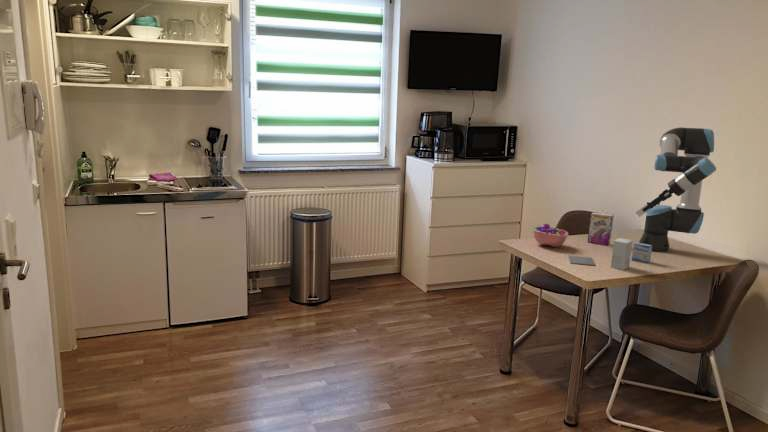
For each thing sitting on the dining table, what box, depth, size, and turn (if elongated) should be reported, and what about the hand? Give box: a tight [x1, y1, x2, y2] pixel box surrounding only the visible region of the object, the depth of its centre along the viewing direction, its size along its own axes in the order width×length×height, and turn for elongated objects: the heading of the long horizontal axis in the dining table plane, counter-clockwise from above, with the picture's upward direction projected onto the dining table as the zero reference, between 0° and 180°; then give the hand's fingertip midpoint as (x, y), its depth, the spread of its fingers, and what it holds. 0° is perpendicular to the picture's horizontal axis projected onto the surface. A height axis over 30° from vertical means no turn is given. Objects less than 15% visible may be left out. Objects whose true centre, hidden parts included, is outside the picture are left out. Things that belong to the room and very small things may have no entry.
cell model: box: [532, 223, 569, 248], centre depth 302 cm, size 17×20×11 cm
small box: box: [610, 237, 633, 271], centre depth 267 cm, size 8×6×13 cm
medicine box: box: [630, 241, 653, 264], centre depth 279 cm, size 8×4×9 cm, turn 53°
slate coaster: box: [568, 255, 596, 267], centre depth 276 cm, size 11×13×1 cm
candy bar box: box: [587, 211, 614, 247], centre depth 311 cm, size 11×5×16 cm, turn 58°
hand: (640, 212), depth 267 cm, fingers open, 13 cm apart
